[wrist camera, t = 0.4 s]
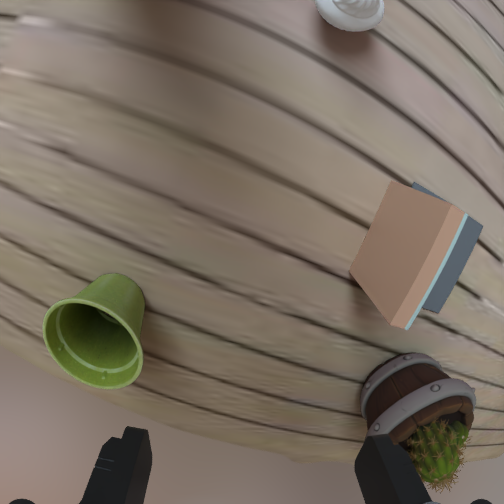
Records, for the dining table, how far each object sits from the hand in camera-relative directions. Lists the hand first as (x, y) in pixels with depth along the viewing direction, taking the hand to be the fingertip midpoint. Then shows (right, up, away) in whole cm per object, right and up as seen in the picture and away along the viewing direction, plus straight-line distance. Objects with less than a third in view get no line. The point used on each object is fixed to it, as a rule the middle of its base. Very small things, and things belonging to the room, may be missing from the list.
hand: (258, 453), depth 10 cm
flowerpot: (+19, -10, +28) cm, 36 cm away
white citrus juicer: (+8, +29, +13) cm, 33 cm away
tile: (+12, +9, +20) cm, 26 cm away
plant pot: (-14, +2, +22) cm, 26 cm away
